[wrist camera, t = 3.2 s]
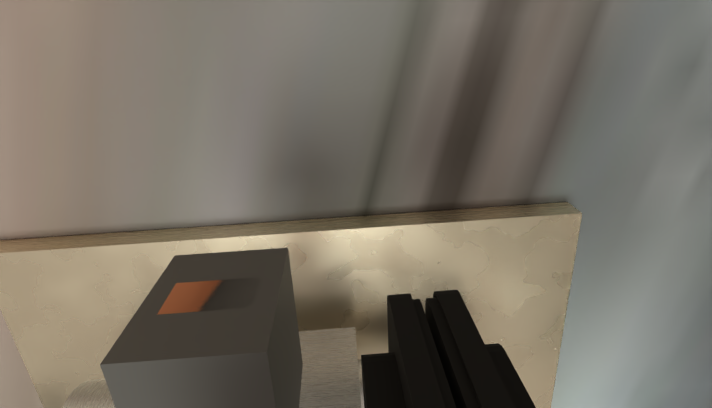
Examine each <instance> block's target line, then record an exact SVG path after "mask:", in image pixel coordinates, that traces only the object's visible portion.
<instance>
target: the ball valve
mask: <svg viewBox="0 0 712 408" xmlns="http://www.w3.org/2000/svg"><path fill="white" fill-rule="evenodd" d="M581 218H582V213H581V212H580V211H579V210H577V209H576V208H575V207H573V206H572V205H571V204H569V203H568V202H560V203H545V204H530V205H516V206H501V207H486V208H471V209H457V210H442V211H427V212H412V213H398V214H383V215H368V216H354V217H339V218H324V219H309V220H295V221H280V222H265V223H250V224H236V225H221V226H206V227H191V228H177V229H162V230H147V231H132V232H118V233H103V234H88V235H74V236H59V237H44V238H29V239H15V240H0V310H1V312H2V314H3V317H4V319H5V321H6V323H7V326H8V328H9V330H10V332H11V335H12V337H13V339H14V341H15V344H16V346H17V348H18V350H19V353H20V355H21V357H22V359H23V362H24V364H25V366H26V368H27V371H28V373H29V375H30V377H31V380H32V382H33V384H34V386H35V389H36V391H37V393H38V395H39V398H40V400H41V402H42V404H43V407H44V408H115V405H114V403H113V400H112V397H111V394H110V391H109V389H108V386H107V383H106V380H105V378H104V375H103V372H102V369H101V366H100V364H101V362H102V361H103V359H104V358H105V356H106V355H107V354H108V352H109V351H110V349H111V348H112V346H113V345H114V343H115V342H116V340H117V339H118V337H119V336H120V335H121V333H122V332H123V330H124V329H125V327H126V326H127V324H128V323H129V321H130V320H131V319H132V317H133V316H134V314H135V313H136V311H137V310H138V308H139V307H140V305H141V304H142V302H143V301H144V300H145V298H146V297H147V295H148V294H149V292H150V291H151V289H152V288H153V286H154V285H155V284H156V282H157V281H158V279H159V278H160V276H161V275H162V273H163V272H164V270H165V269H166V268H167V266H168V265H169V263H170V262H171V260H172V259H173V257H174V256H175V255H188V254H202V253H217V252H231V251H245V250H260V249H274V248H288V251H289V259H290V267H291V275H292V283H293V291H294V298H295V306H296V314H297V322H298V330H299V338H300V346H301V353H302V361H303V369H302V380H301V391H300V402H299V408H364V396H363V383H362V366H361V355H366V354H378V353H388V320H387V295H395V294H408V293H410V294H411V296H412V299H420V300H421V303H422V306H423V309H424V312H425V301H426V298H433V293H434V291H445V290H458V291H459V293H460V294H461V297H462V299H463V301H464V303H465V305H466V307H467V309H468V311H469V313H470V315H471V317H472V319H473V321H474V323H475V325H476V327H477V329H478V331H479V334H480V336H481V338H482V340H483V342H484V344H496V343H499V344H500V345H502V347H503V348H504V350H505V351H506V353H507V355H508V357H509V359H510V360H511V362H512V364H513V366H514V368H515V370H516V372H517V373H518V375H519V377H520V379H521V381H522V383H523V385H524V386H525V388H526V390H527V392H528V394H529V396H530V398H531V399H532V401H533V403H534V405H535V407H536V408H551V402H552V396H553V390H554V383H555V377H556V371H557V365H558V359H559V353H560V347H561V341H562V334H563V328H564V322H565V316H566V310H567V304H568V298H569V291H570V285H571V279H572V273H573V267H574V261H575V255H576V248H577V242H578V236H579V230H580V224H581Z"/></svg>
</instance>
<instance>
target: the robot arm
mask: <svg viewBox="0 0 712 408" xmlns="http://www.w3.org/2000/svg"><path fill="white" fill-rule="evenodd" d="M387 320H388V353H378V354H366V355H361V366H362V383H363V396H364V408H536V407H535V405H534V403H533V401H532V399H531V398H530V396H529V394H528V392H527V390H526V388H525V386H524V385H523V383H522V381H521V379H520V377H519V375H518V373H517V372H516V370H515V368H514V366H513V364H512V362H511V360H510V359H509V357H508V355H507V353H506V351H505V350H504V348H503V347H502V345H500V344H499V343H496V344H484V342H483V340H482V338H481V336H480V334H479V331H478V329H477V327H476V325H475V323H474V321H473V319H472V317H471V315H470V313H469V311H468V309H467V307H466V305H465V303H464V301H463V299H462V297H461V294H460V293H459V291H458V290H445V291H434V293H433V298H426V301H425V312H424V309H423V306H422V303H421V300H420V299H412V296H411V294H410V293H408V294H395V295H387Z"/></svg>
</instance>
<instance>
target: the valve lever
mask: <svg viewBox="0 0 712 408" xmlns="http://www.w3.org/2000/svg"><path fill="white" fill-rule="evenodd" d="M100 366H101V369H102V372H103V375H104V378H105V380H106V383H107V386H108V389H109V391H110V394H111V397H112V400H113V403H114V405H115V408H299V402H300V391H301V380H302V369H303V361H302V353H301V346H300V338H299V330H298V322H297V314H296V306H295V298H294V291H293V283H292V275H291V267H290V259H289V251H288V248H274V249H260V250H245V251H231V252H217V253H202V254H188V255H175V256H174V257H173V259H172V260H171V262H170V263H169V265H168V266H167V268H166V269H165V270H164V272H163V273H162V275H161V276H160V278H159V279H158V281H157V282H156V284H155V285H154V286H153V288H152V289H151V291H150V292H149V294H148V295H147V297H146V298H145V300H144V301H143V302H142V304H141V305H140V307H139V308H138V310H137V311H136V313H135V314H134V316H133V317H132V319H131V320H130V321H129V323H128V324H127V326H126V327H125V329H124V330H123V332H122V333H121V335H120V336H119V337H118V339H117V340H116V342H115V343H114V345H113V346H112V348H111V349H110V351H109V352H108V354H107V355H106V356H105V358H104V359H103V361H102V362H101V364H100Z"/></svg>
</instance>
